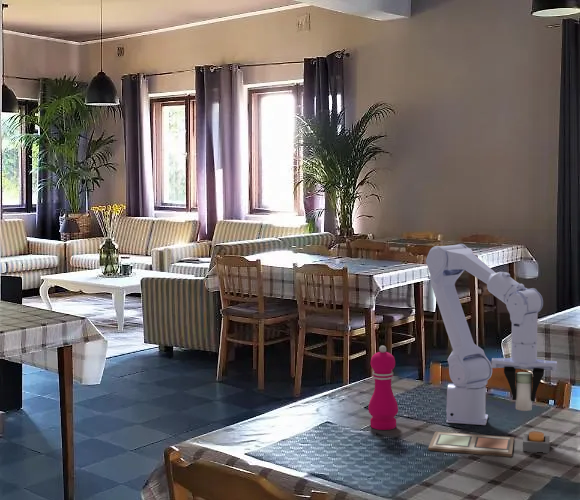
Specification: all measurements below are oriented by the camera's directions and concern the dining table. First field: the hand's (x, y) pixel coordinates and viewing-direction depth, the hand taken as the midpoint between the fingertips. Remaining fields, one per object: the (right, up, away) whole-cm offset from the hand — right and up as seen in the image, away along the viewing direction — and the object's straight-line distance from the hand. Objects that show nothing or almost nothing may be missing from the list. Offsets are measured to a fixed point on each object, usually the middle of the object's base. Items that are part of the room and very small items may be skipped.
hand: (523, 399), depth 198 cm
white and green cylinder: (0, -2, 0) cm, 2 cm away
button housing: (+1, -10, -8) cm, 12 cm away
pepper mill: (-31, -9, +10) cm, 34 cm away
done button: (+1, -8, -8) cm, 11 cm away
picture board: (-13, -10, -5) cm, 17 cm away
